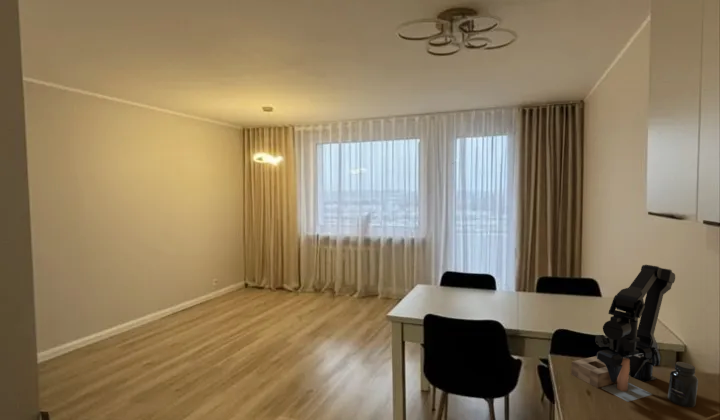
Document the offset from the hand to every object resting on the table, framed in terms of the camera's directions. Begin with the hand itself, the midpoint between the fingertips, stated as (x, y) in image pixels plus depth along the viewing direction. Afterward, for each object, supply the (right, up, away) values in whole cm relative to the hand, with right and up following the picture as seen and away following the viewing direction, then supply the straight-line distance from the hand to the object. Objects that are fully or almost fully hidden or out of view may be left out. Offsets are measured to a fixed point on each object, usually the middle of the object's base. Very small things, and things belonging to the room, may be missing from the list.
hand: (622, 379), depth 136 cm
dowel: (0, -3, 0) cm, 3 cm away
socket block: (-4, -3, +8) cm, 9 cm away
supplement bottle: (+14, -5, -7) cm, 16 cm away
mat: (+1, -4, -1) cm, 4 cm away
